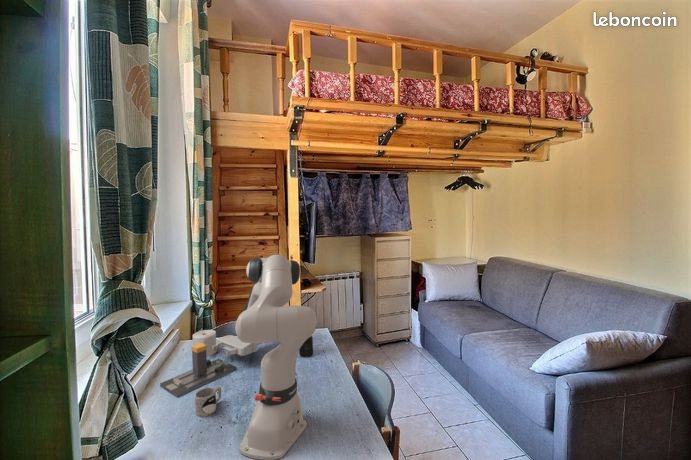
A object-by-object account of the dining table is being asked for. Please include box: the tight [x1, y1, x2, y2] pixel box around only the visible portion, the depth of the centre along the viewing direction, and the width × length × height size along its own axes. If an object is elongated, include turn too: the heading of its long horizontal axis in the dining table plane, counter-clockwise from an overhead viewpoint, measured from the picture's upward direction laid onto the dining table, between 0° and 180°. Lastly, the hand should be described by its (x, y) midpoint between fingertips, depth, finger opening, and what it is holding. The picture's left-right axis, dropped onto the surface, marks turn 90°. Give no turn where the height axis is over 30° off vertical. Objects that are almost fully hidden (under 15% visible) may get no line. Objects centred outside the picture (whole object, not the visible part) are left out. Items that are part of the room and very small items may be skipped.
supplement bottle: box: [298, 335, 314, 358], centre depth 153 cm, size 7×7×12 cm
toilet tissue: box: [192, 329, 217, 359], centre depth 156 cm, size 11×12×10 cm
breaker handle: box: [191, 343, 208, 377], centre depth 133 cm, size 4×4×12 cm
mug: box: [194, 386, 222, 418], centre depth 112 cm, size 10×7×7 cm
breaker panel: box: [159, 358, 237, 398], centre depth 133 cm, size 26×14×3 cm, turn 145°
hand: (219, 351), depth 140 cm, fingers open, 8 cm apart
